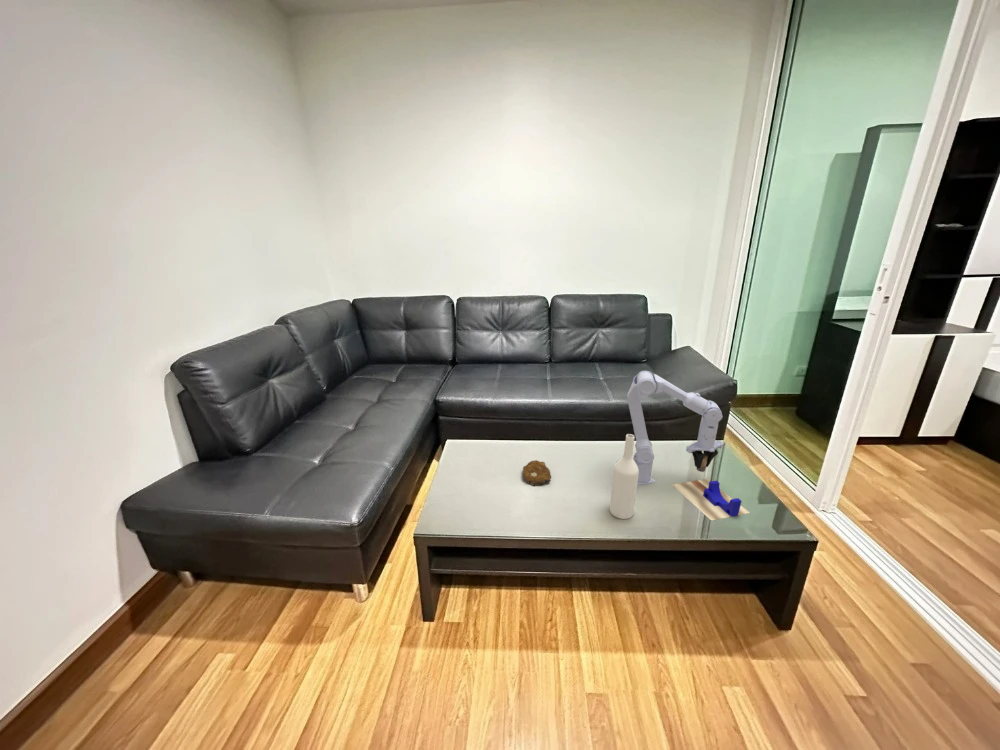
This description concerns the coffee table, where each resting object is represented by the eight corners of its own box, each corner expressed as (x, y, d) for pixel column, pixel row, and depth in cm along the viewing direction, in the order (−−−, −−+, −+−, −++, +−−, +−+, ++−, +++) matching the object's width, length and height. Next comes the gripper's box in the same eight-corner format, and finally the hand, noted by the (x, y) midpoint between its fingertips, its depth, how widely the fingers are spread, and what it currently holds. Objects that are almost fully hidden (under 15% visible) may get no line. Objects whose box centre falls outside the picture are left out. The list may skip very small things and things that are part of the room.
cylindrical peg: (700, 472, 147) (702, 458, 145) (694, 468, 150) (697, 454, 148) (706, 471, 148) (709, 457, 146) (701, 466, 151) (703, 453, 149)
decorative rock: (520, 466, 166) (524, 489, 152) (520, 458, 165) (524, 480, 151) (547, 464, 167) (553, 486, 153) (547, 456, 165) (553, 478, 151)
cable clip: (703, 495, 146) (705, 482, 144) (713, 494, 147) (716, 480, 145) (726, 517, 135) (730, 502, 133) (738, 515, 135) (741, 500, 133)
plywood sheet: (711, 521, 133) (711, 520, 133) (671, 485, 152) (671, 484, 152) (749, 513, 137) (750, 512, 137) (706, 479, 156) (706, 478, 156)
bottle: (621, 501, 143) (630, 428, 133) (638, 514, 136) (648, 438, 126) (604, 508, 140) (612, 433, 130) (620, 522, 133) (630, 444, 123)
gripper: (697, 442, 139) (692, 474, 143) (732, 437, 142) (725, 469, 147) (684, 432, 145) (679, 464, 150) (717, 428, 148) (711, 459, 153)
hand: (701, 466), depth 149 cm, fingers closed on cylindrical peg, 3 cm apart
